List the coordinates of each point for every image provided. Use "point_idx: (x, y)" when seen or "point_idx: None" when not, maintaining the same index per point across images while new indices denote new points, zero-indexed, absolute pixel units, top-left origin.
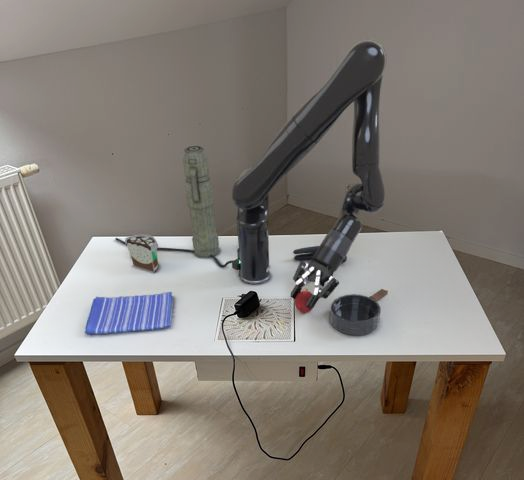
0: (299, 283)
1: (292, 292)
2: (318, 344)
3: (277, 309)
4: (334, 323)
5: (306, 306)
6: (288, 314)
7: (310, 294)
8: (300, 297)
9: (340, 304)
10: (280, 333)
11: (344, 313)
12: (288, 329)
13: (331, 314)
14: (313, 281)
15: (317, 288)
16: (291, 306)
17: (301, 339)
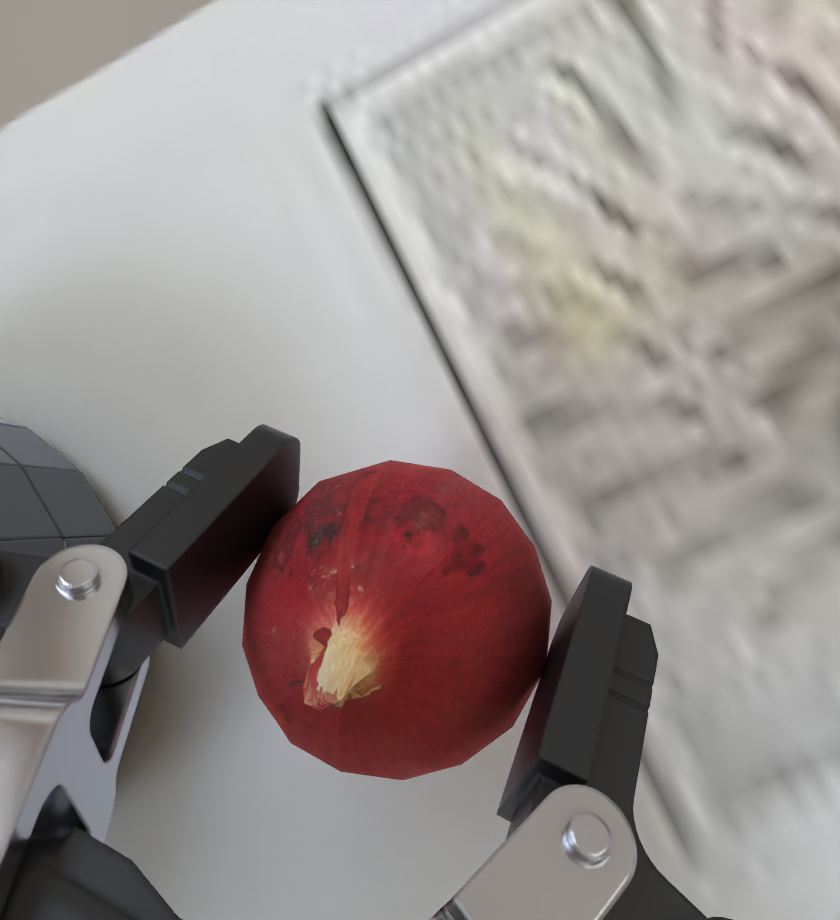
0: (530, 818)
1: (615, 631)
2: (118, 180)
3: (762, 522)
4: (13, 442)
5: (286, 436)
6: (585, 484)
7: (267, 649)
8: (401, 515)
9: None
10: (502, 143)
11: None
12: (458, 240)
13: (18, 502)
14: (131, 871)
15: (17, 662)
16: None
17: (277, 166)
